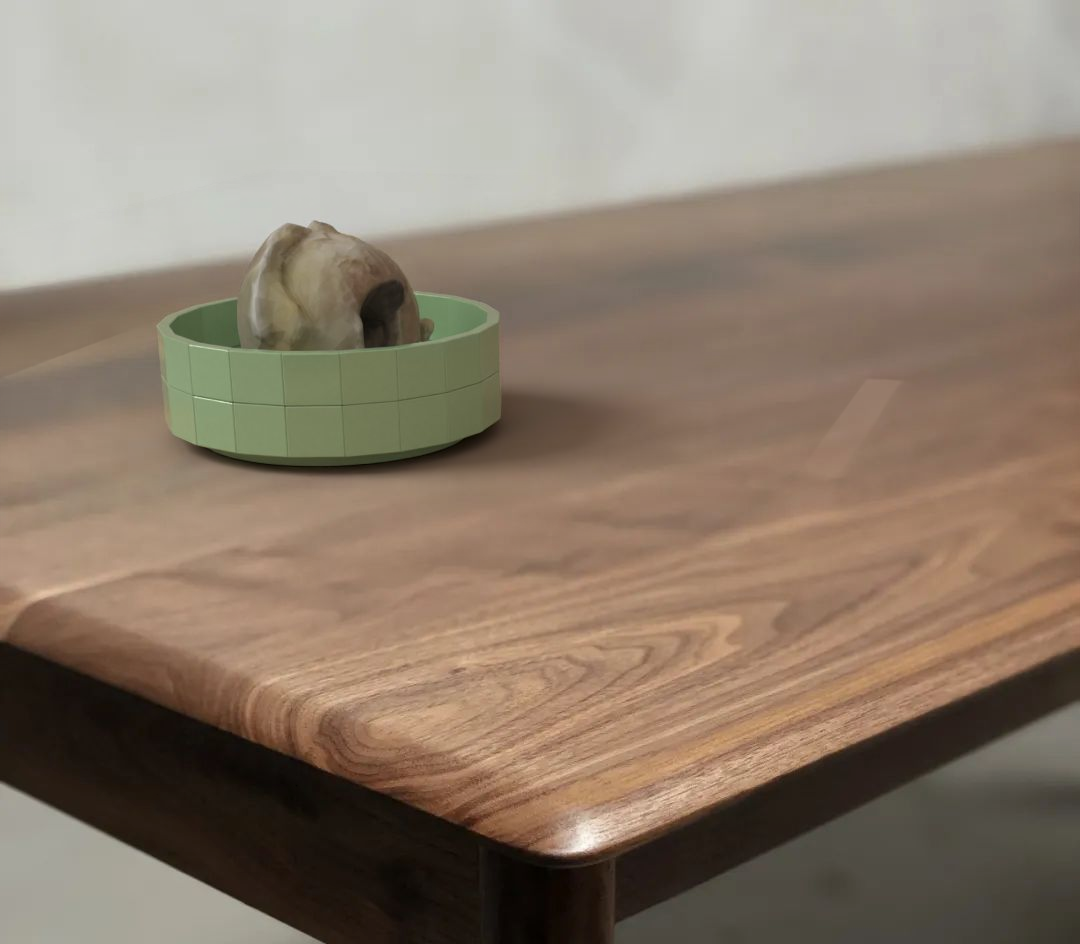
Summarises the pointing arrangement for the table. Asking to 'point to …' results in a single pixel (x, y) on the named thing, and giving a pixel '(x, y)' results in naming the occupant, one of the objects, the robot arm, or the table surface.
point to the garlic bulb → (325, 295)
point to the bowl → (331, 388)
